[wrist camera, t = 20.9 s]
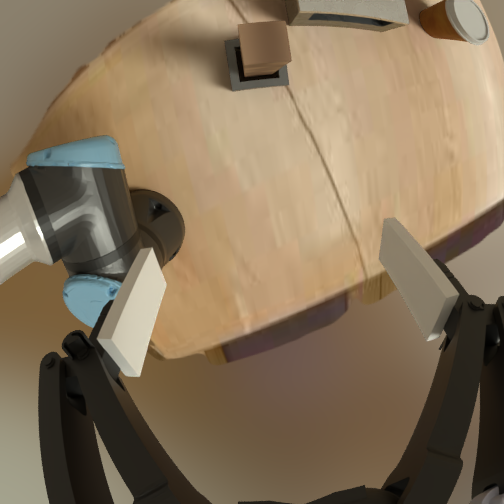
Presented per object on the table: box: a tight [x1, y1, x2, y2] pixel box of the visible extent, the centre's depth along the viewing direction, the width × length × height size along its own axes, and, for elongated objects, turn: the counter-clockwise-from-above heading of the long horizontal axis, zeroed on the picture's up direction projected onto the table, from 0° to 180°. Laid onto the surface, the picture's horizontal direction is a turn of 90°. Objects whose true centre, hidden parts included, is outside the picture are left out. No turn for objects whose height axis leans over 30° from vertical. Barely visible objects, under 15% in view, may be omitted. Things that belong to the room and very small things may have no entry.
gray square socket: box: [225, 39, 289, 91], centre depth 32 cm, size 8×8×4 cm
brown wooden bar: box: [238, 21, 292, 78], centre depth 26 cm, size 4×4×20 cm
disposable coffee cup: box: [419, 0, 489, 45], centre depth 21 cm, size 10×10×12 cm
